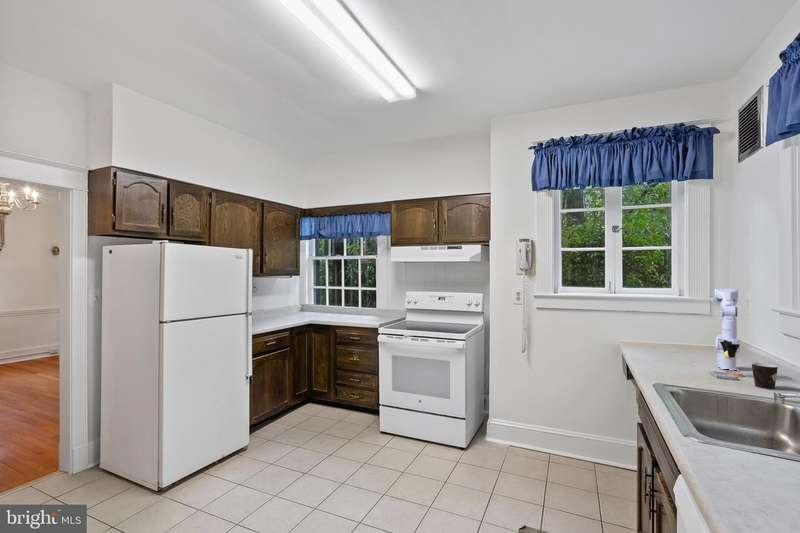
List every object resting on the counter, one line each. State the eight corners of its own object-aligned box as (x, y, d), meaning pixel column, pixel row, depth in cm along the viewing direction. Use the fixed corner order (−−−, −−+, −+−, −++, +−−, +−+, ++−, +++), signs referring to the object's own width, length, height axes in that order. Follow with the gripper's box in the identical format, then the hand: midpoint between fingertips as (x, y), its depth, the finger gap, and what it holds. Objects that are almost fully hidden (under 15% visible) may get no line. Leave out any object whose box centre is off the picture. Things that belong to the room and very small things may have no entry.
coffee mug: (766, 385, 175) (766, 363, 175) (783, 390, 167) (783, 367, 167) (739, 383, 176) (739, 362, 177) (755, 389, 168) (754, 366, 168)
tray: (710, 373, 195) (709, 371, 195) (729, 375, 192) (729, 372, 192) (717, 378, 186) (717, 375, 186) (737, 380, 183) (737, 377, 183)
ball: (722, 358, 195) (722, 349, 195) (733, 358, 193) (733, 350, 194) (725, 359, 191) (725, 350, 191) (737, 360, 189) (736, 351, 190)
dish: (718, 372, 199) (718, 369, 199) (739, 374, 196) (739, 371, 196) (725, 375, 192) (725, 373, 192) (746, 377, 188) (746, 374, 188)
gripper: (714, 327, 201) (714, 353, 201) (724, 330, 188) (725, 358, 187) (731, 328, 198) (731, 354, 198) (743, 331, 185) (743, 359, 185)
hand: (729, 356), depth 192 cm, fingers closed on ball, 4 cm apart
